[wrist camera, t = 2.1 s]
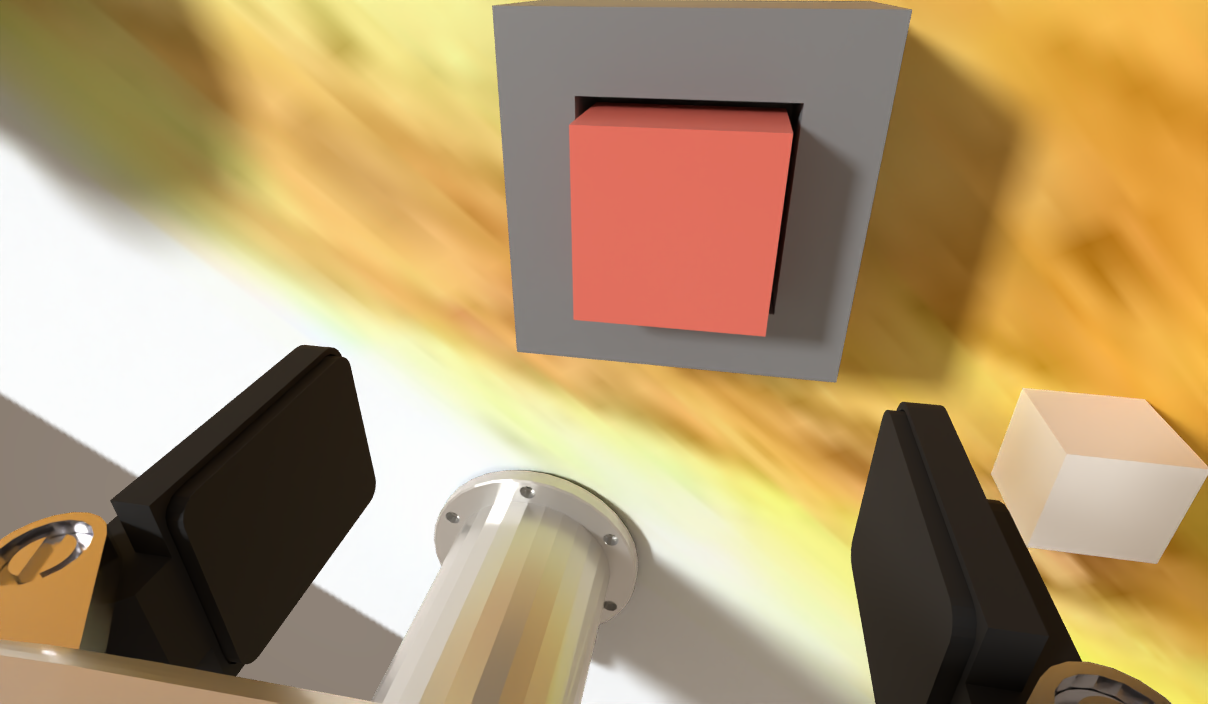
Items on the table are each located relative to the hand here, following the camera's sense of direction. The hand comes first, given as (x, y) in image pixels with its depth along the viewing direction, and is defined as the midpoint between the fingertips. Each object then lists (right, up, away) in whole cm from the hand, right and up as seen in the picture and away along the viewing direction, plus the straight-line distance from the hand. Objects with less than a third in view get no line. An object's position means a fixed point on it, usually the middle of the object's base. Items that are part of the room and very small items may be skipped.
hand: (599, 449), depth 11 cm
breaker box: (+4, +10, +17) cm, 20 cm away
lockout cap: (+22, -2, +20) cm, 30 cm away
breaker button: (+3, +7, +12) cm, 15 cm away
